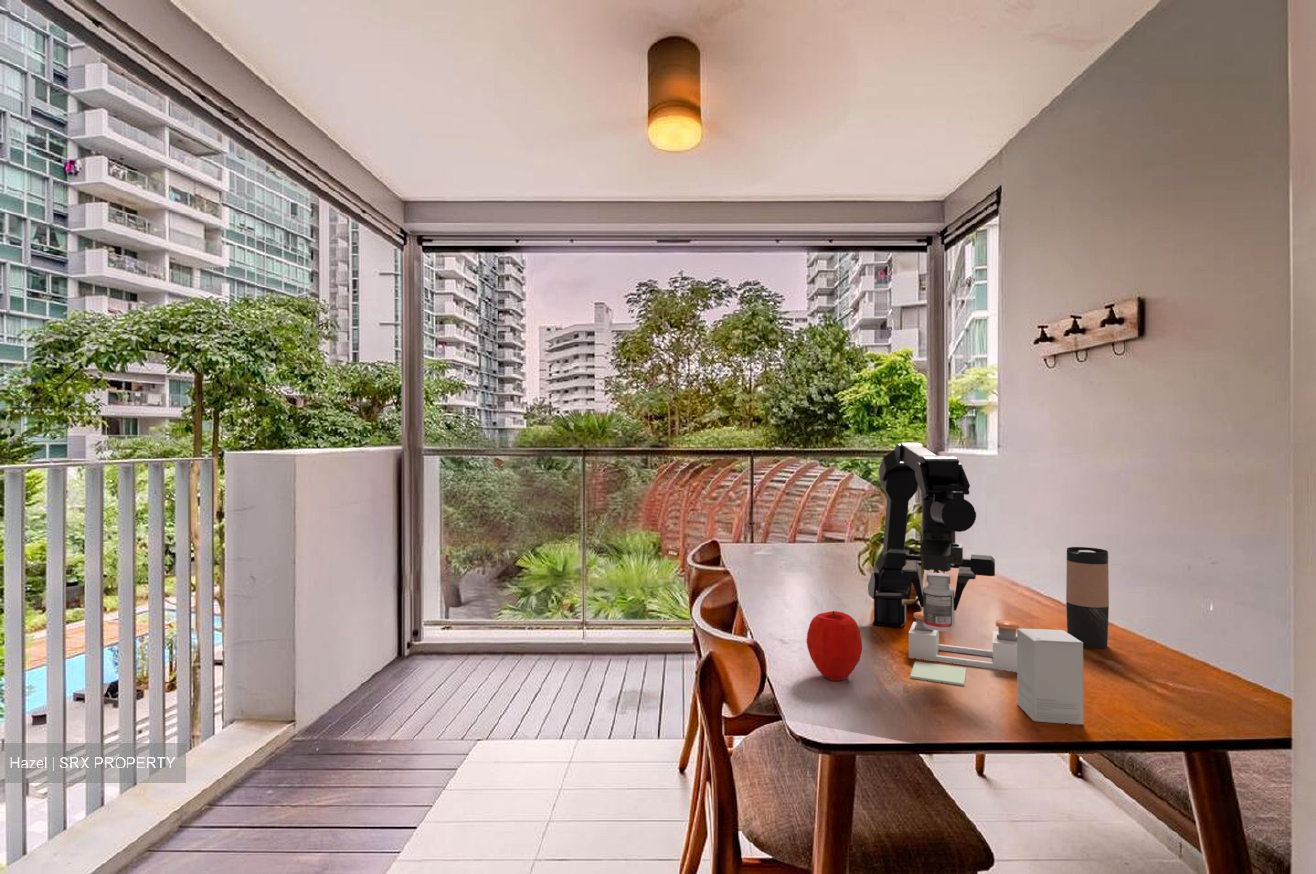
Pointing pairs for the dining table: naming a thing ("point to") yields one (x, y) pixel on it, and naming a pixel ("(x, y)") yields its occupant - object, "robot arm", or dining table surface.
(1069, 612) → the travel mug
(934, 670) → the mat
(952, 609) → the pill bottle
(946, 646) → the holder
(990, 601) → the dining table surface
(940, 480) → the robot arm
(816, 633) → the apple
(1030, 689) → the supplement box
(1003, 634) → the plunger right
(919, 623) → the plunger left
